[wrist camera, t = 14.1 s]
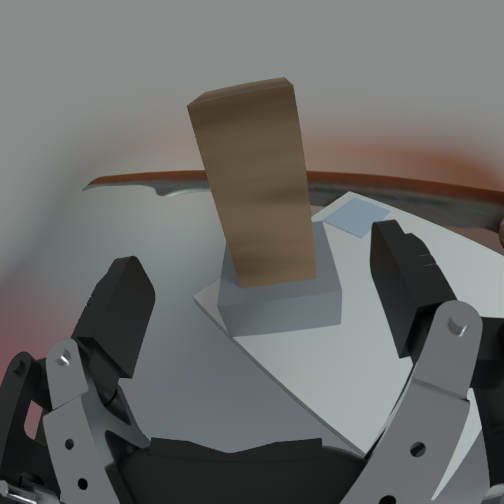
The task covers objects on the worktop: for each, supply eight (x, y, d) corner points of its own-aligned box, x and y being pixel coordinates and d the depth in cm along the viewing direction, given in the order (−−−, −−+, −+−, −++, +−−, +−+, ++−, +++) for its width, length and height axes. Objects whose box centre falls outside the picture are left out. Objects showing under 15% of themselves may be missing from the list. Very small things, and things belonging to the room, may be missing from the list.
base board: (348, 198, 34) (347, 164, 32) (531, 280, 18) (547, 243, 15) (194, 303, 26) (176, 266, 23) (425, 503, 9) (457, 497, 6)
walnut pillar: (244, 243, 24) (204, 92, 16) (307, 234, 23) (284, 77, 16) (241, 288, 20) (186, 105, 12) (316, 278, 19) (292, 85, 12)
